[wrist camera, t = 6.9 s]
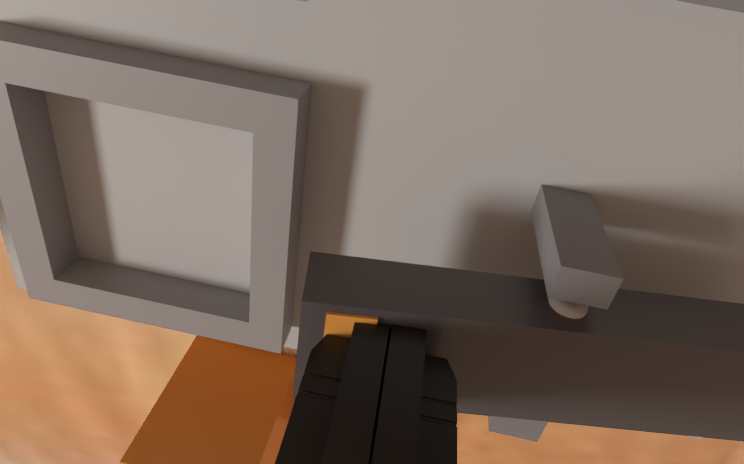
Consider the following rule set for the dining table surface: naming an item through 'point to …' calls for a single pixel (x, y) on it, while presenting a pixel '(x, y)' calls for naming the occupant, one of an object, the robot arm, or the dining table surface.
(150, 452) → the cap
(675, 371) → the breaker
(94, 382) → the dining table surface
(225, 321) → the breaker panel
